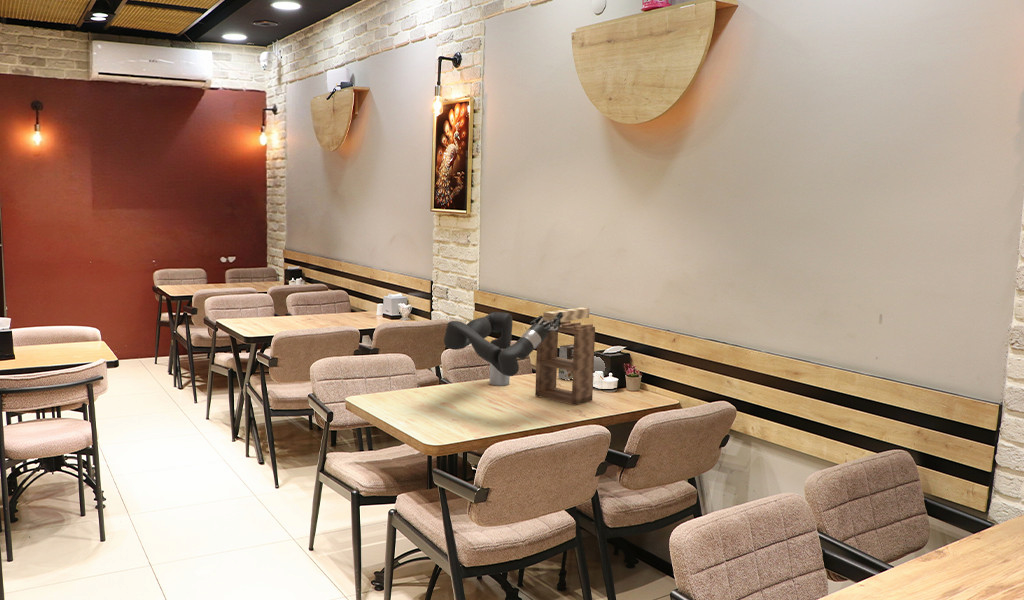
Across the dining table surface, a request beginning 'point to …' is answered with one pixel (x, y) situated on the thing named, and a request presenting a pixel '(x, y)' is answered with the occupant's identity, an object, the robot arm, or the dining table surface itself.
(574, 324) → the walnut shelf
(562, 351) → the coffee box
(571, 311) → the beech bar
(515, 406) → the dining table surface
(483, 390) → the dining table surface
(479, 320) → the robot arm
